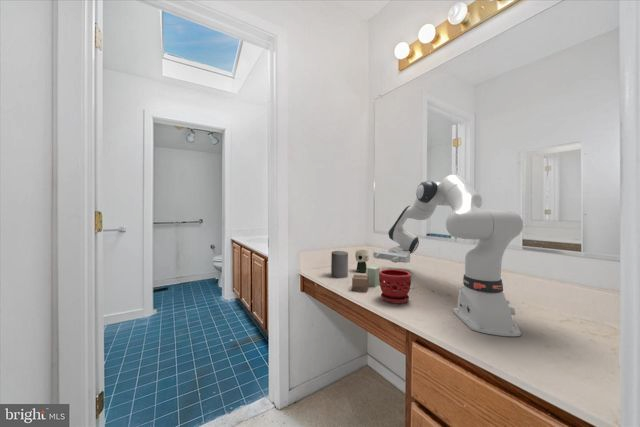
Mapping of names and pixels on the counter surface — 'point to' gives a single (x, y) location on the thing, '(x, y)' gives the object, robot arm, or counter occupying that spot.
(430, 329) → the counter surface
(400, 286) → the plant pot
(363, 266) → the character mug
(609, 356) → the counter surface
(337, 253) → the pillar candle
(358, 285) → the walnut base
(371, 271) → the sage brick
